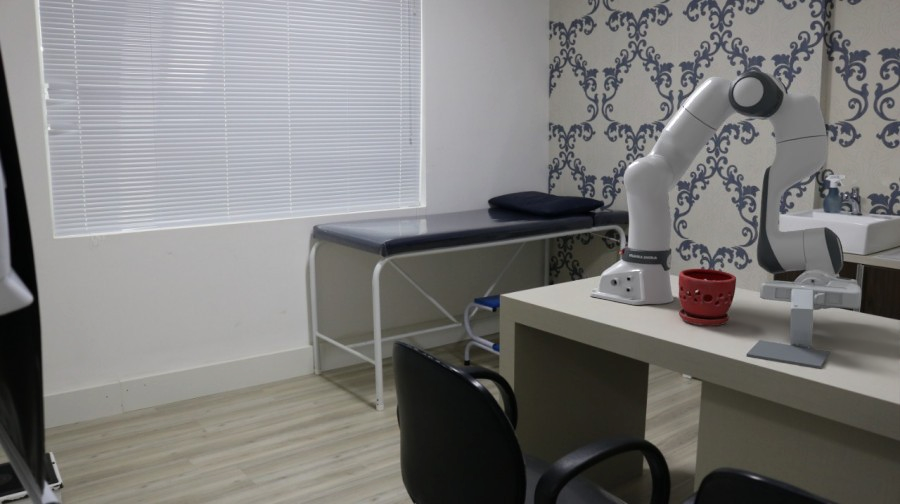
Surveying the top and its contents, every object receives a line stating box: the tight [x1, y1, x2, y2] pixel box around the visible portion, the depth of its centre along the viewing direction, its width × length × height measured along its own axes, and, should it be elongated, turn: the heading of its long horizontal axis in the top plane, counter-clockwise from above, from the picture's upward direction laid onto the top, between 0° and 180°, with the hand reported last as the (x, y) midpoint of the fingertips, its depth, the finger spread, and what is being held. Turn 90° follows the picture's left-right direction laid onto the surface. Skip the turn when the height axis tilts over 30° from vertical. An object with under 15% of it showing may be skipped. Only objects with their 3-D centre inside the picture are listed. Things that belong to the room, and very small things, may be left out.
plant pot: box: [678, 268, 737, 327], centre depth 180 cm, size 13×13×12 cm
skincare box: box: [789, 289, 814, 348], centre depth 158 cm, size 6×4×12 cm
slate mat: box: [745, 339, 831, 369], centre depth 155 cm, size 14×12×1 cm
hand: (804, 299), depth 159 cm, fingers closed
